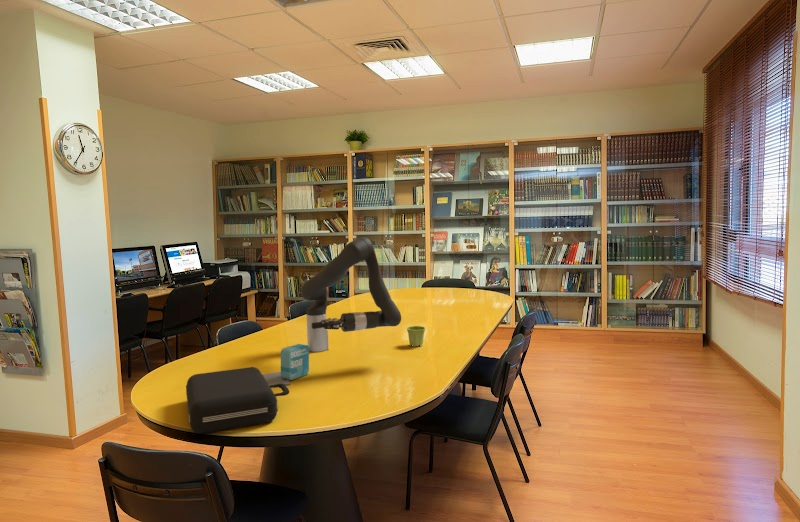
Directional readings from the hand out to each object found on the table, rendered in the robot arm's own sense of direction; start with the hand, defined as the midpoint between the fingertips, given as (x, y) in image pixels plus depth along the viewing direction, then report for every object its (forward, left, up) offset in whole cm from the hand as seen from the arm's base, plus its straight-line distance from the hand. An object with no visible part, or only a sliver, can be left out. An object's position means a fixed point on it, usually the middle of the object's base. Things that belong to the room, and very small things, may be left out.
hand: (311, 325), depth 211 cm
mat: (+18, 0, -20) cm, 27 cm away
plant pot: (-56, -25, -20) cm, 65 cm away
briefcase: (+31, +28, -20) cm, 47 cm away
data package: (+8, 0, -20) cm, 21 cm away
